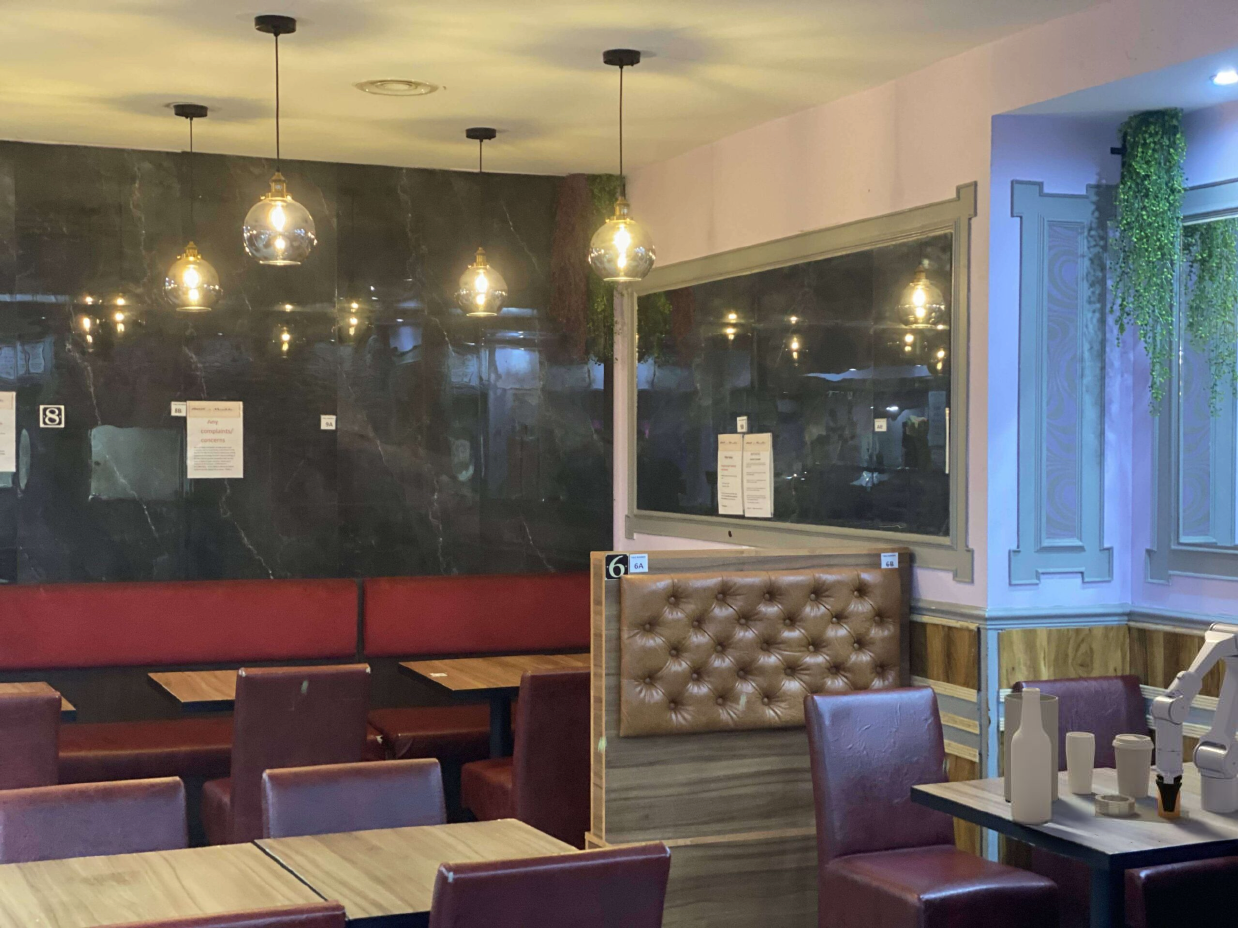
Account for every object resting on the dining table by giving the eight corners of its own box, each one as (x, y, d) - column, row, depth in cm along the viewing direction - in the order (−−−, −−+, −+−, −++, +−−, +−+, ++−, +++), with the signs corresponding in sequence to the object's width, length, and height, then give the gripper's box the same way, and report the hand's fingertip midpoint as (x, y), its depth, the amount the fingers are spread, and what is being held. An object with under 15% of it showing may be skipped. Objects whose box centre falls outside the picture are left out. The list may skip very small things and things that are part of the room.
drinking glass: (1096, 799, 347) (1096, 737, 347) (1067, 797, 349) (1067, 736, 349) (1092, 792, 354) (1093, 732, 354) (1064, 791, 355) (1064, 730, 355)
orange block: (1165, 812, 330) (1165, 786, 330) (1184, 816, 326) (1184, 789, 326) (1153, 815, 327) (1153, 789, 327) (1172, 819, 323) (1172, 792, 323)
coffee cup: (1154, 804, 342) (1154, 741, 341) (1112, 801, 345) (1112, 739, 345) (1153, 796, 351) (1153, 734, 351) (1112, 793, 354) (1112, 732, 354)
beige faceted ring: (1109, 804, 337) (1109, 792, 337) (1142, 812, 330) (1142, 799, 330) (1087, 810, 332) (1087, 797, 332) (1120, 817, 325) (1120, 804, 325)
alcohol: (1034, 814, 333) (1034, 684, 332) (1059, 822, 324) (1059, 690, 324) (1003, 817, 329) (1003, 686, 329) (1027, 826, 321) (1027, 692, 321)
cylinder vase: (1066, 799, 347) (1066, 696, 347) (1045, 809, 337) (1045, 702, 337) (1017, 791, 355) (1017, 690, 355) (995, 801, 345) (995, 697, 345)
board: (1093, 820, 326) (1093, 816, 326) (1097, 807, 339) (1097, 802, 339) (1188, 829, 319) (1188, 824, 319) (1188, 814, 332) (1188, 810, 332)
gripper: (1151, 742, 335) (1151, 800, 335) (1149, 753, 322) (1149, 814, 322) (1183, 744, 332) (1183, 802, 332) (1183, 756, 319) (1183, 817, 319)
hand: (1169, 808), depth 327 cm, fingers closed on orange block, 5 cm apart
